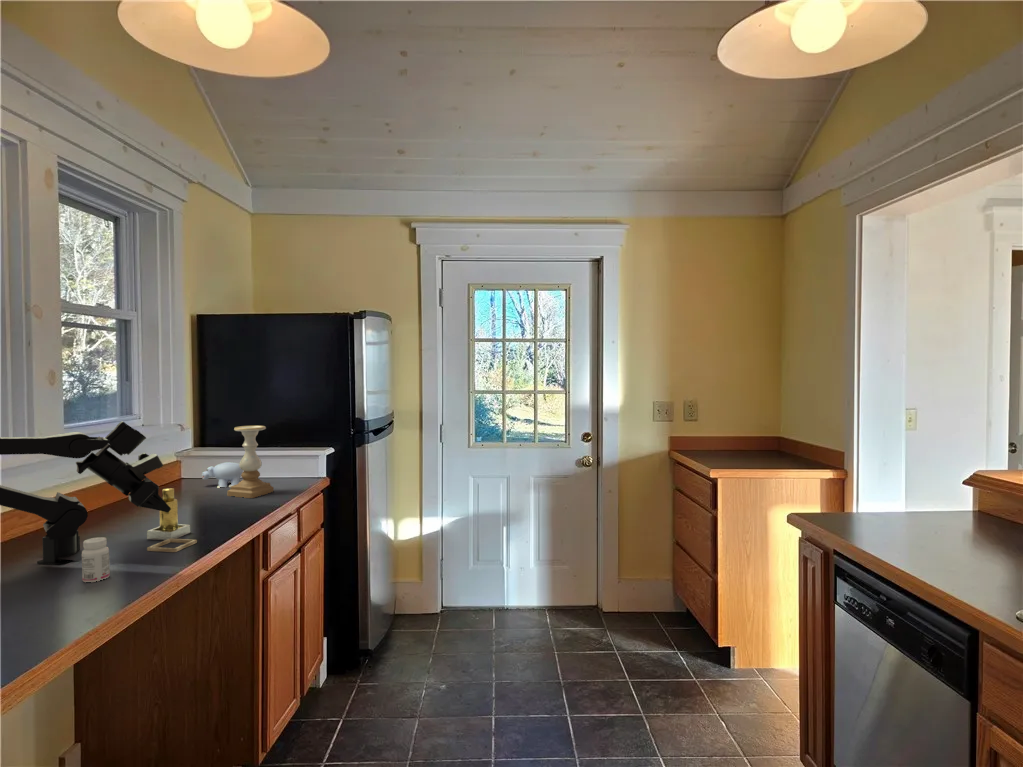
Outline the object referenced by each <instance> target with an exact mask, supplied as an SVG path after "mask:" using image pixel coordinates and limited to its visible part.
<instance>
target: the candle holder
mask: <svg viewBox="0 0 1023 767" xmlns="http://www.w3.org/2000/svg"><path fill="white" fill-rule="evenodd" d="M266 429H267V427H266V426H265V425H241V426H235V427H234V429H233V430H234V431H235V432H241V435H242V436H243V437H244V438H243V439H244V441H243V443H242V445H241V446H242V447H243V449H244V454H243V457H241V459H240V461H239V463H238V464H239V467H240V469H241V470H243V473H242V474H241V477H240V478H242V480H240V482H239V483H238V484H237V485H233V486H231V487H230V488H229V490H226V491H227V492H226V493H227V494H226V495H227V497H231V496H235V497H234V498H242V497H244V498H245V499H254V498H258V496H259V497H261V495H262V496H265V495H269V494H272V493H274V492H273V491H274V488H275V487H274V486H272V485H271V483H270V482H264V481H263V480H262V479H260V478H259V477H260V476H261V473H260V471H259V469H260V468H261V467H262V460H261V459H260V456H258V454H257V452H256V451H257V450H256V449H257V448H258V446H259V443H258V442H257V440H256V438H257V436H258V434H259V432H260V431H264V430H266ZM271 492H272V493H271ZM268 493H269V494H268ZM244 498H243V499H244Z"/></svg>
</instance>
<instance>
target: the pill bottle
mask: <svg viewBox="0 0 1023 767" xmlns="http://www.w3.org/2000/svg"><path fill="white" fill-rule="evenodd" d="M107 540H108V539H107V537H103V536H102V537H101V536H100V537H97V536H96V537H92V538H87V539H85V540H83V542H82V545H83V550H82V551H81V578H82V582H84V583H86V582H91V583H95V582H96V581H97V582H101V581H100V580H102V581H104V580H103V579H105V580H106V578H107V579H109V577H110V576H111V574H110V570H111V568H110V567H111V566H110V549H109V547H108V546H107V544H108V542H107ZM97 582H96V583H97Z"/></svg>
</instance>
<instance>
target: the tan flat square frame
mask: <svg viewBox="0 0 1023 767" xmlns="http://www.w3.org/2000/svg"><path fill="white" fill-rule="evenodd" d="M197 542H198V539H190V538H176V539H172V538H170V539H167V540H161V541H160V542H158V543H155V544H152V545H150V546H148V547H146V551H147V552H164V553H165V552H167V553H177V552H179V551H181V550H184V549H186V548H188V547H190V546H193V545H195V544H197ZM169 543H178V544H179V543H180V544H181V545H179V546H176V547H163V546H165V545H167V544H169Z"/></svg>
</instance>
